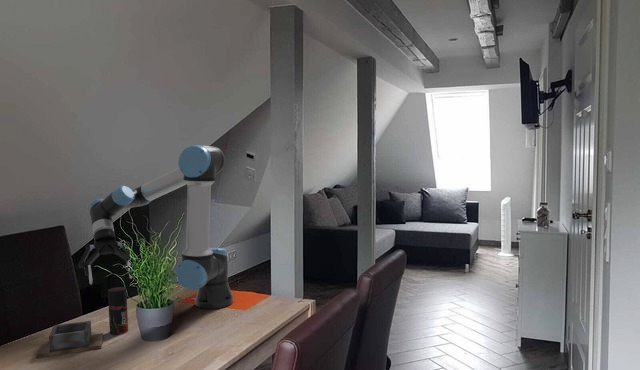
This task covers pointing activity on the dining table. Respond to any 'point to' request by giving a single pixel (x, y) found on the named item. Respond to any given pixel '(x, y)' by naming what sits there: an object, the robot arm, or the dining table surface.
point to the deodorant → (118, 310)
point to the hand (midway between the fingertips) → (111, 279)
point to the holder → (70, 339)
